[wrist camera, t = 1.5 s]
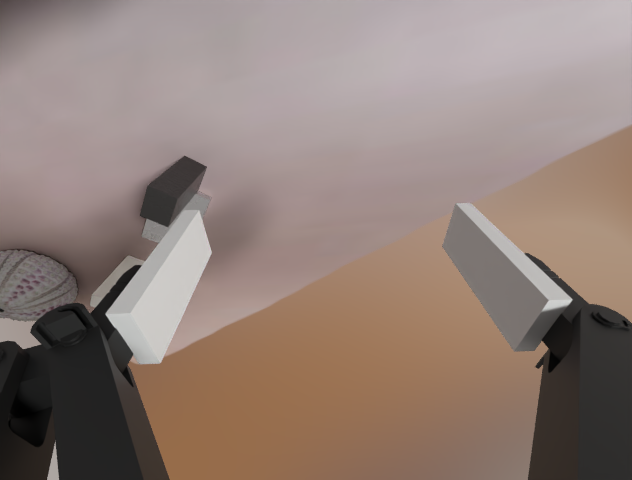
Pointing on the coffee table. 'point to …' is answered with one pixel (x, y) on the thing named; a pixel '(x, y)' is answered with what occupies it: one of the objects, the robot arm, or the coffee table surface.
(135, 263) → the tile
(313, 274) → the coffee table surface
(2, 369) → the robot arm
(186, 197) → the grey l-shaped block
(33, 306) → the sea urchin shell
